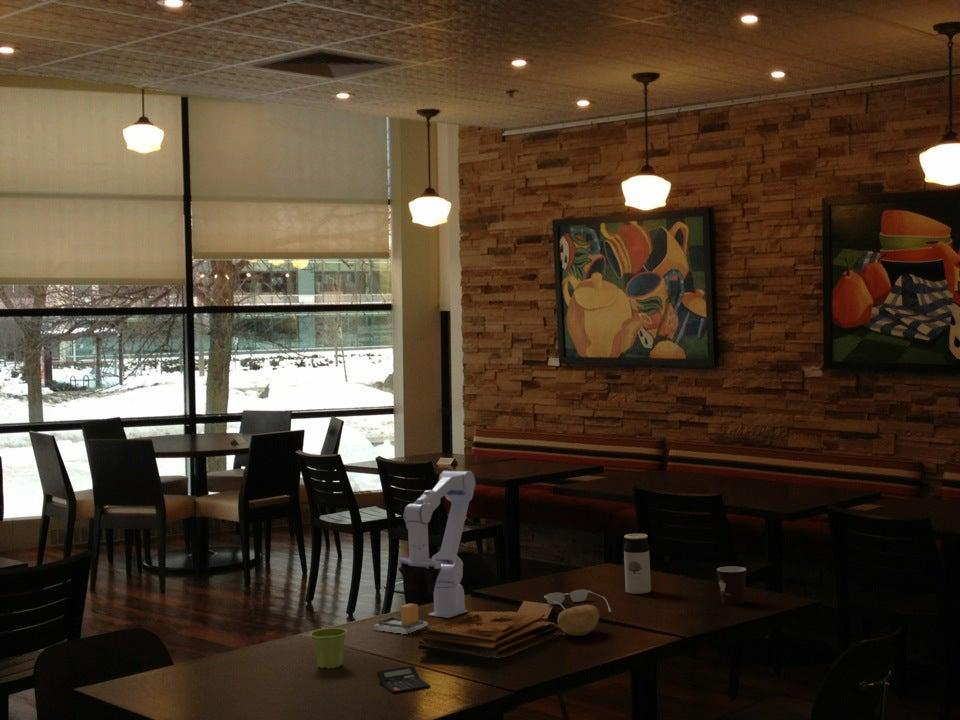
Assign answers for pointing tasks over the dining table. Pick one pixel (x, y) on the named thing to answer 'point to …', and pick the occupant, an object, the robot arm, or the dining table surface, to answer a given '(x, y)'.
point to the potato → (578, 620)
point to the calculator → (401, 680)
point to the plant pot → (329, 646)
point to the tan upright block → (409, 614)
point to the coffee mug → (731, 584)
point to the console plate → (398, 626)
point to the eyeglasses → (575, 596)
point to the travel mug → (637, 564)
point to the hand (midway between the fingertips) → (420, 591)
